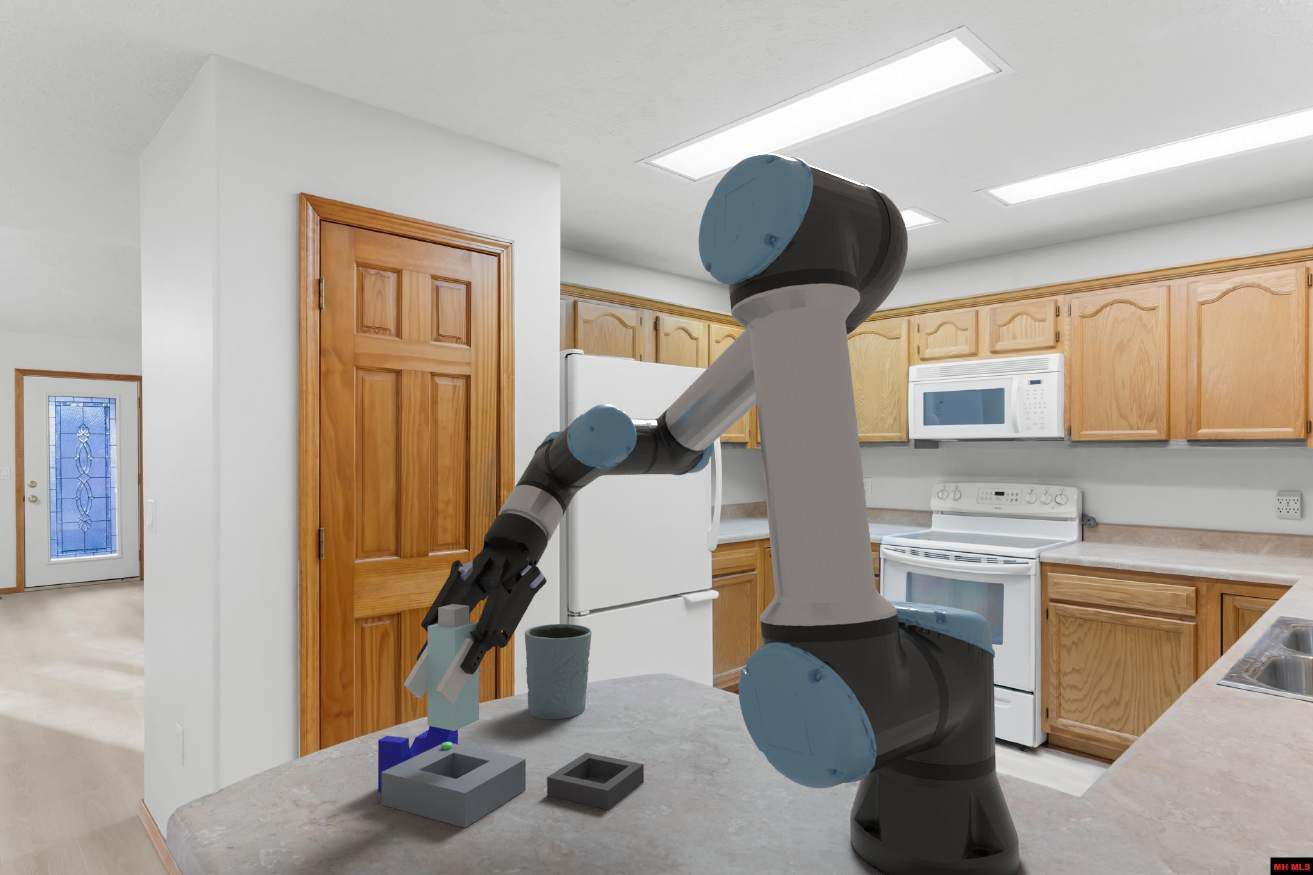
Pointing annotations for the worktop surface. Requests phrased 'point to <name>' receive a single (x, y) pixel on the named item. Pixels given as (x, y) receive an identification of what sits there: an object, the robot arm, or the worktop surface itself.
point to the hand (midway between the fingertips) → (428, 694)
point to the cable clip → (399, 750)
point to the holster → (574, 788)
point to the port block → (453, 783)
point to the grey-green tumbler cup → (557, 669)
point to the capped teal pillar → (440, 656)
